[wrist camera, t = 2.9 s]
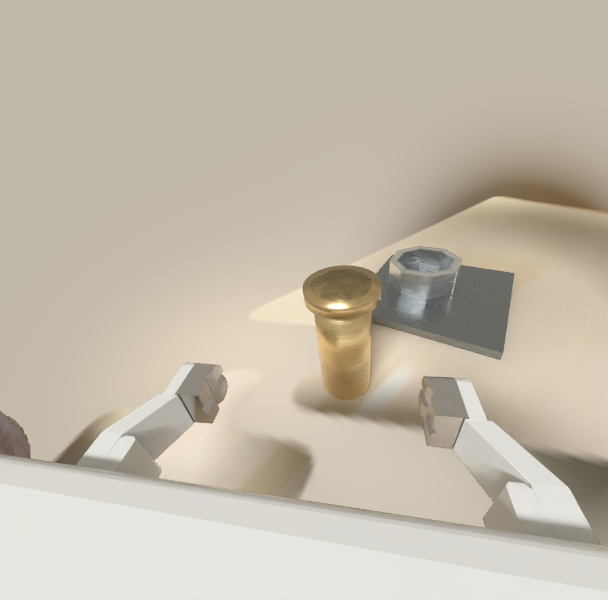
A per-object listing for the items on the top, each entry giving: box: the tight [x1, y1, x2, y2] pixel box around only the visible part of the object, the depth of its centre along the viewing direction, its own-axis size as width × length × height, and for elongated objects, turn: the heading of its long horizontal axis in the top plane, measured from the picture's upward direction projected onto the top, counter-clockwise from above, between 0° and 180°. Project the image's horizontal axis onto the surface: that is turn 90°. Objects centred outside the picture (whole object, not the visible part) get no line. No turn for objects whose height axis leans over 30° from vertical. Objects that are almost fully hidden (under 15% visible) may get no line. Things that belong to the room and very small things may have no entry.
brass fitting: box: [303, 266, 381, 400], centre depth 26 cm, size 6×6×12 cm
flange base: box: [372, 246, 514, 360], centre depth 38 cm, size 18×18×4 cm
